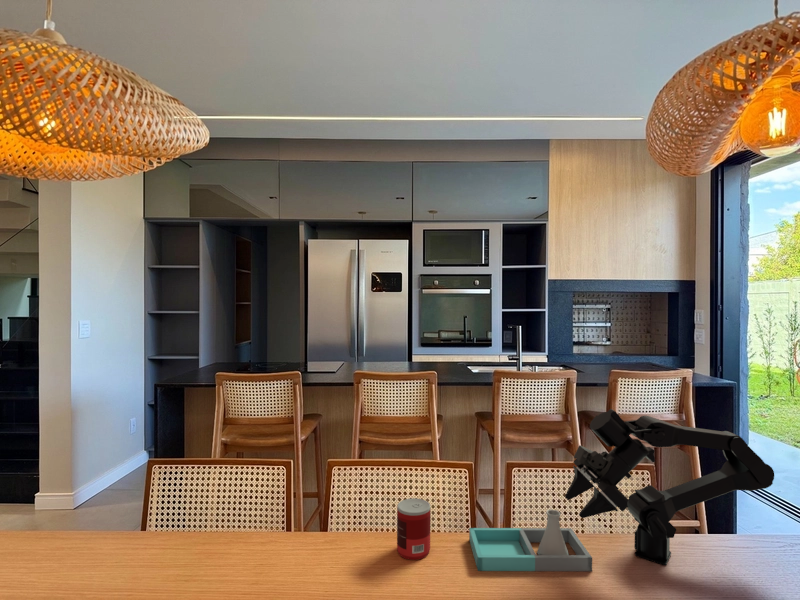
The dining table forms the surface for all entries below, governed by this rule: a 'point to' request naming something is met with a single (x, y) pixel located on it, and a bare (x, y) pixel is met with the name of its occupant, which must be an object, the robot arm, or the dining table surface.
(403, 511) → the canned food
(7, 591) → the dining table surface
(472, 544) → the tray
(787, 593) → the dining table surface
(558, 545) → the flask
